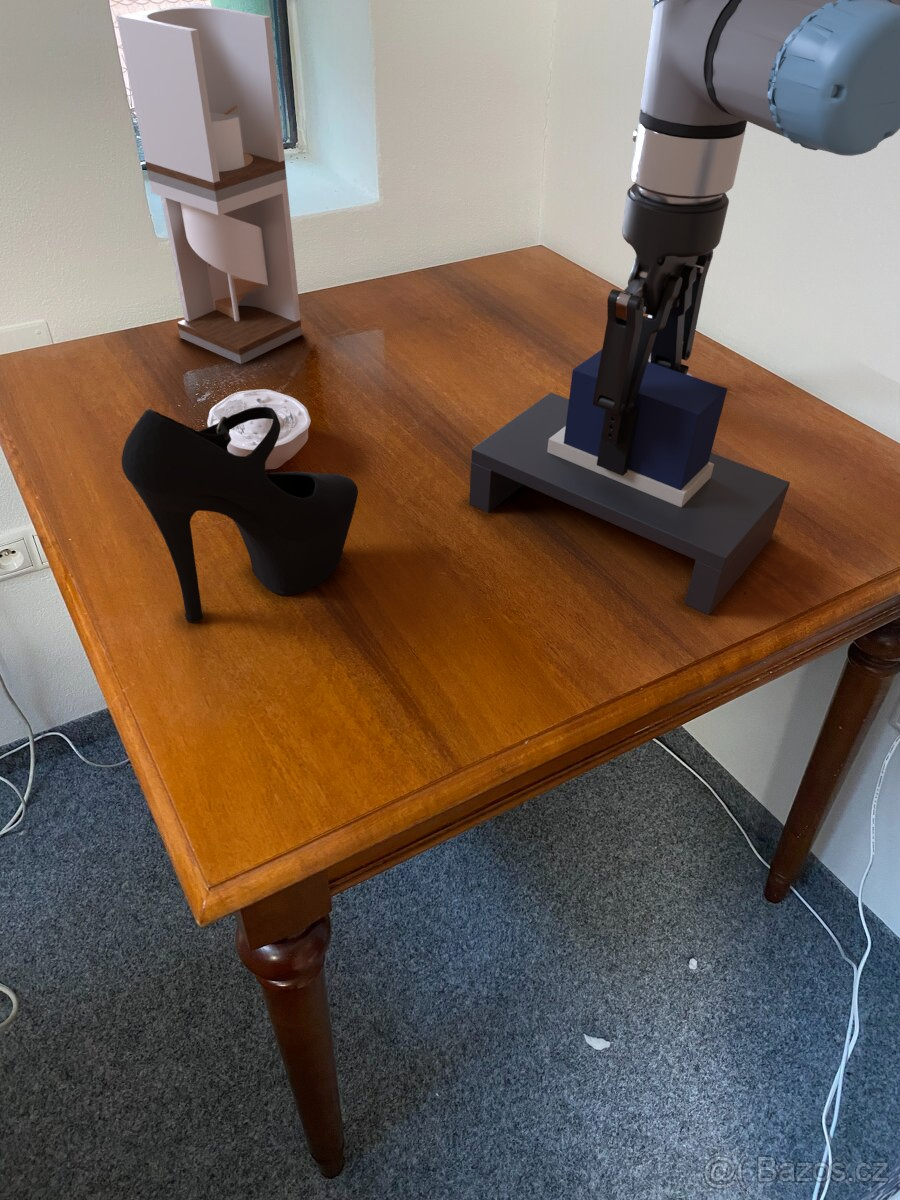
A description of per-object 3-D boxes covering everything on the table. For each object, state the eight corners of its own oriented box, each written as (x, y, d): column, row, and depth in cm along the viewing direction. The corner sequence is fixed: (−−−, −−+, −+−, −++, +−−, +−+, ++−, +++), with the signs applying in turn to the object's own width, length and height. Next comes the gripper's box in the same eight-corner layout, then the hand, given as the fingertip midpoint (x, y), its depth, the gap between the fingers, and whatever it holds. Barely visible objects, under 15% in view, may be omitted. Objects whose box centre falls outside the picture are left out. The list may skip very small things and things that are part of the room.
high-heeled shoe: (378, 562, 80) (368, 362, 67) (190, 656, 71) (135, 446, 58) (329, 521, 85) (310, 326, 71) (146, 605, 76) (85, 398, 62)
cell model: (296, 420, 99) (289, 365, 94) (325, 478, 90) (319, 420, 86) (205, 437, 96) (194, 381, 91) (226, 498, 87) (216, 439, 83)
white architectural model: (180, 337, 113) (116, 15, 90) (241, 310, 119) (197, 3, 96) (241, 364, 108) (190, 30, 85) (302, 334, 114) (270, 16, 91)
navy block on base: (710, 477, 80) (734, 389, 74) (681, 507, 77) (703, 417, 71) (580, 426, 86) (591, 341, 80) (547, 452, 83) (556, 365, 77)
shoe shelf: (771, 537, 84) (790, 481, 80) (708, 615, 76) (726, 558, 72) (545, 445, 96) (550, 391, 91) (468, 504, 87) (471, 448, 83)
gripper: (690, 149, 72) (642, 399, 88) (568, 210, 61) (539, 484, 77) (776, 168, 69) (711, 424, 85) (665, 235, 58) (614, 516, 73)
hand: (629, 452), depth 81 cm, fingers closed on navy block on base, 6 cm apart
